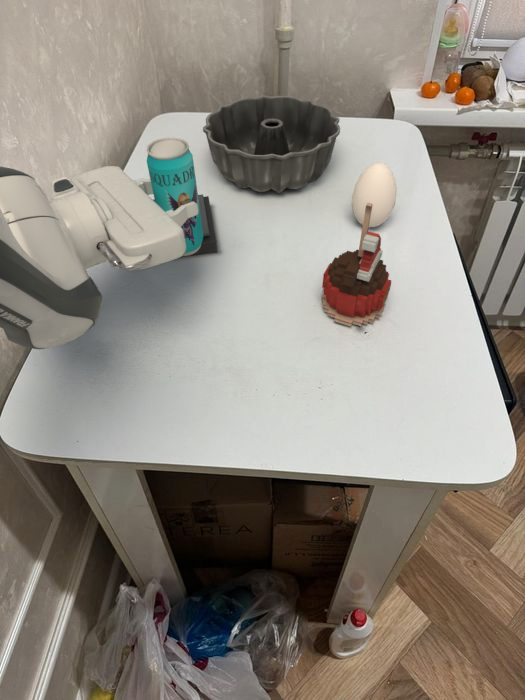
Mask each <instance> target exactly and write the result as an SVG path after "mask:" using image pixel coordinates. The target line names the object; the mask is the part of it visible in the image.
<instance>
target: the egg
mask: <svg viewBox="0 0 525 700" xmlns="http://www.w3.org/2000/svg"><path fill="white" fill-rule="evenodd" d="M396 200H397V182H396V178H395V175H394V173H393V171H392V170H391V168H390V167H389V166H388V165H387V164H385V163H383V162H375V163H372V164H370V165H368V166H367V167H366V168H365V169H364V170H363V171H362V173H361V174H360V176H359V177H358V179H357V181H356V183H355V184H354V188H353V191H352V196H351V208H352V212H353V215H354V217H355V218H356V220H357V221H358V223H359V224H360V225H362V226H363V221H364V215H365V209H366V205H367V203H371V204H373V205H372V211H371V217H370V222H369V228H375V227H378V226H380V225H382V224H383V223H384V222H386V221H387V220H388V218H389V217H390V215H392V212H393V211H394V209H395V205H396Z"/></svg>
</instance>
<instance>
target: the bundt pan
mask: <svg viewBox="0 0 525 700" xmlns="http://www.w3.org/2000/svg"><path fill="white" fill-rule="evenodd" d="M339 123H340V117H339V116H336V115H334V114H333V111H332V110H331V108H329V107H327V106H325V105H323V104H318V103H315V102H314V101H313V100H312V99H301V98H299V97H295V96H291V95H275V96H269V95H260V96H257V97H244V98H239V99H236V100H234V101H232V102H229V104H223V105H219V106H218V108H217V110H214V111H212V112H211V113H209V114H208V115H207V116H206V117H205V125H204V126H203V127H202V131H203V133H204V134H205V136H206V139H207V144H208V147H209V153H210V155H211V158H212V161H213V163H214V164H215V166H216V167H217V169H218V171H219V173H220V174H221V175H222V176H223V178H225V179H226V180H229V181H230V182H234V184H235V185H236V186H237V187H238V188H241V189H246V188H249V189H252V190H253V191H255V192H260V193H261V192H263V193H264V192H267V191H270V190H273V191H275V192H276V193H278V194H281V192H283V191H284V190H285V189H290V190H296V189H300V188H302V187H304V186H305V185H306V184H311V183H314V182H316V181H317V180H318V179H319V178H320V177H321V176H322V174H323V172H324V171H325V170H326V169H327V167H328V166H329V165H330V163H331V160H332V155H333V153H334V152H333V151H334V149H335V145H336V140H337V137H339V136H340V134H341V126H340V124H339Z"/></svg>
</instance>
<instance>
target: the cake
mask: <svg viewBox="0 0 525 700" xmlns="http://www.w3.org/2000/svg"><path fill="white" fill-rule="evenodd" d="M372 205H373V204H371V203H367V205H366V209H365V215H364V221H363V225H362V227H361V233H360V241H359V247H358V249H356V250H354V251H350V250H346V251H344V252H342V253H341V254H339V255H338V257H334V258H333V260H332V261H331V262H330V263H329V264H328V266H327V268H326V269H325V271H324V273H323V275H322V286H321V288H323V292H322V295H321V297H320V301H321V302H322V303H321V308H323V309H324V312H325V313H326V316H327V317H331V318H333V322H335V323H339V324H342V325H345V326H348V327H352V326H353V325H355V326H359V327H362V326H363V324H364V325H368V323H371V324H373V323H374V322H375V319H376V318H377V319H381V317H382V315H383V312H384V311H385V308H386V305H387V304H386V301H387V299H388V296H389V293H390V290H391V286H392V280H391V279H389V277H390V273H389V271H387V264H384V260H383V259H381V258H382V257H383V253H384V251H383V250H382V248H381V245H382V243H381V242H382V237H381V235H380V233H377V232H373V231H369V228H370V227H369V222H370V217H371V211H372Z"/></svg>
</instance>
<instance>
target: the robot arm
mask: <svg viewBox="0 0 525 700" xmlns="http://www.w3.org/2000/svg"><path fill="white" fill-rule="evenodd" d="M150 195H154V194H153V189H152V184H151V180H150V178H138V179H136V180H133V179H132V178H131V177H130V176H129V175H128V174H127V173H126V172H125V171H124V170H123V169H122V168H121V167H120V166H116V165H105V166H101V167H97V168H94V169H91V170H90V169H89V170H87V171H84V172H81V173H78V174H76V175H74V176H72V177H71V179H70V178H69V177H67V176H62V177H57V178H55V179H53V180H52V181H51V200H49V198H48V196H47V195H46V193H45V192H44V190H43V188H42V187H41V186H40V185H39V183H38V182H37V181H36V179H35V178H34V177H33V176H31V175H29V174H28V173H25V172H23V171H21V170H18V169H14V168H10V167H7V166H0V328H1V329H3V332H4V334H5V336H6V338H7V340H8V341H10V342H12V343H14V344H16V345H19V346H22V347H25V348H28V349H32V350H45V349H50V348H57V347H60V346H62V345H65V344H68V343H70V342H73V341H74V340H76V339H78V338H79V337H81V336H82V335H84V334H85V333H87V332H88V331H89V330H91V329H92V328H93V326H95V324H96V322H97V320H98V317H99V315H100V311H101V307H102V302H103V295H102V293H101V291H100V290H99V288H98V285H96V283H95V282H94V280H93V278H92V277H91V276H90V275H89V273H88V271H87V270H88V269H91V268H93V267H96V266H98V265H100V264H103V263H105V262H108V263H109V265H110V266H111V267H113V268H114V269H121V270H126V271H133V270H144V269H149V268H152V267H156V266H159V265H163V264H166V263H168V262H171V261H174V260H177V259H179V258H181V256H182V255H183V254H184V252H185V251H186V243H185V237H184V232H183V229H182V228H181V226H182V225H183V224H184V223H185V221H186V220H187V219H188V218H191V217H193V216H196V215H197V214H198V205H197V204H196V203H195V202H194V201H193V200H192V199H190V198H189V199H187V200H184V201H181V202H180V207H179V208H178V209H176V210H175V211H174V212H173V210H169V211H166V212H165V211H164V210H163V209H162V208H161V207H160V206H159V205H158V204H157V203H156V202H155V201H153V198H152V197H150ZM182 257H183V256H182Z"/></svg>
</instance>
